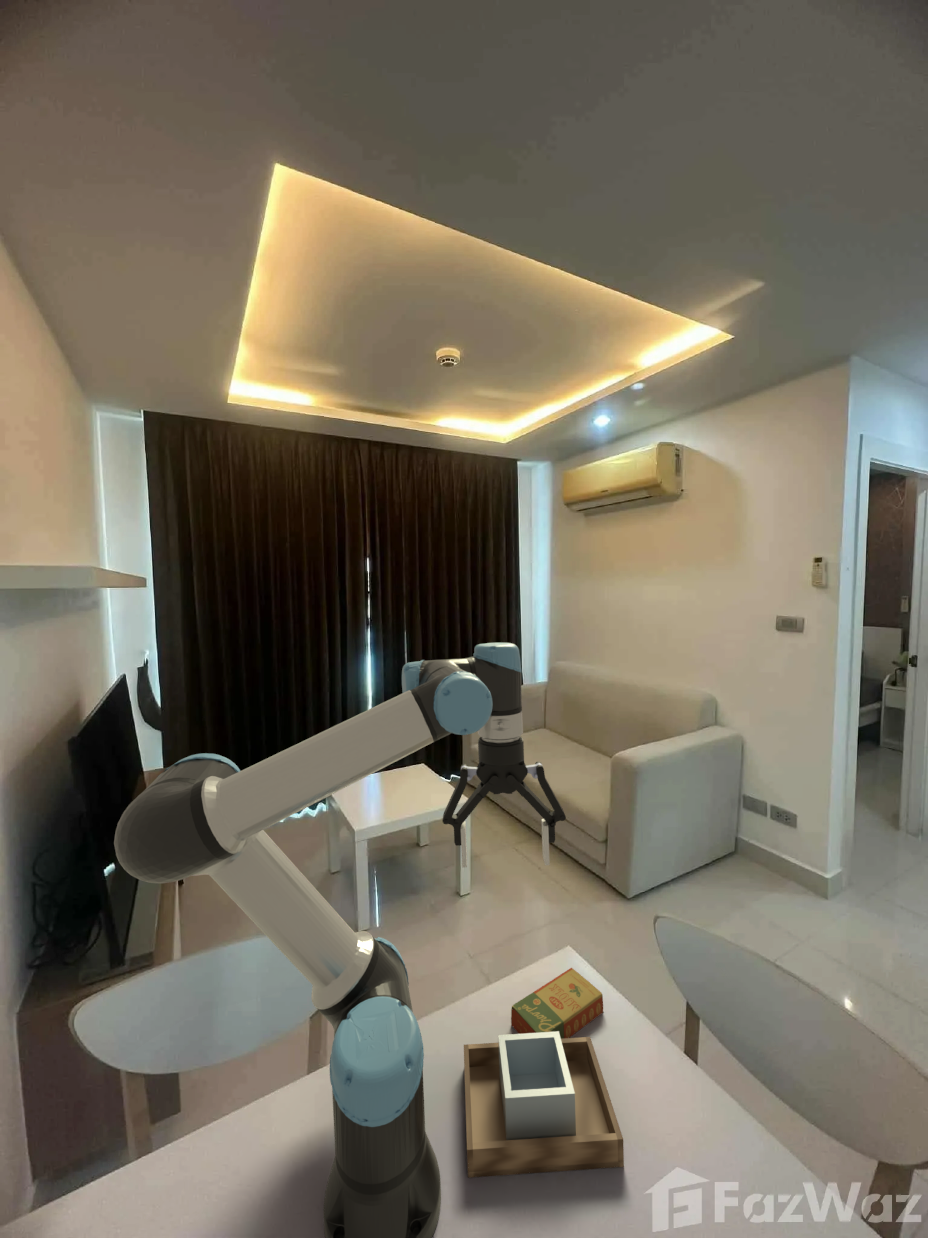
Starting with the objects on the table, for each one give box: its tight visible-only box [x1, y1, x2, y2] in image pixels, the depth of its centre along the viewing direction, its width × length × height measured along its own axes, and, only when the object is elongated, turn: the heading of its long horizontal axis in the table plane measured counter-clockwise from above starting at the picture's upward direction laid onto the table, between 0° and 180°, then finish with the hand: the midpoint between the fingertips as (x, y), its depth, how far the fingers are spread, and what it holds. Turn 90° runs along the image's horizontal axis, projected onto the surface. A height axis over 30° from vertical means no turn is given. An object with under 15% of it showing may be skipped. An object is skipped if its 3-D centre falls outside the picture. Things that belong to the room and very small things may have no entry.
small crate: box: [497, 1031, 576, 1141], centre depth 74 cm, size 10×10×7 cm
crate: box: [463, 1036, 625, 1179], centre depth 74 cm, size 22×16×4 cm
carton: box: [510, 967, 605, 1039], centre depth 90 cm, size 8×16×4 cm, turn 123°
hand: (505, 862), depth 81 cm, fingers open, 13 cm apart
